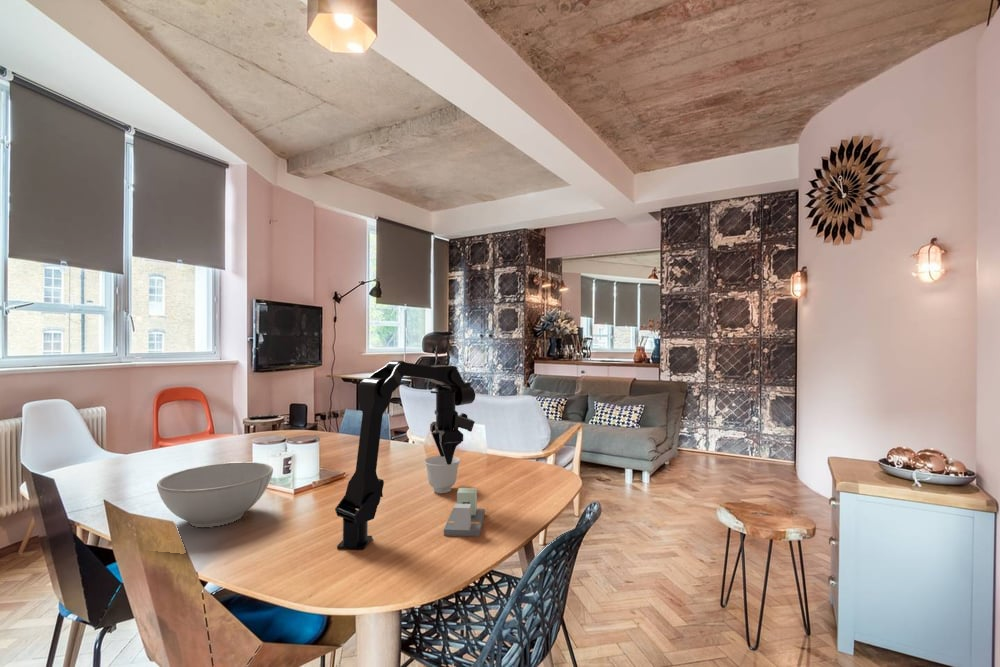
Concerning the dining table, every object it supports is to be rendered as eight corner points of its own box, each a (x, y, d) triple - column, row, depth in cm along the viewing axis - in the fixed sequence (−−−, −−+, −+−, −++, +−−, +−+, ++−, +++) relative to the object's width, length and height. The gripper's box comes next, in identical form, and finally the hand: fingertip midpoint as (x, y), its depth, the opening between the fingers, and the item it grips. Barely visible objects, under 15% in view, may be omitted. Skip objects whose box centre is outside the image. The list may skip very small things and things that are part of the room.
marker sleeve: (475, 515, 121) (475, 493, 121) (456, 514, 121) (457, 492, 121) (476, 509, 125) (476, 488, 125) (459, 509, 125) (459, 487, 125)
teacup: (468, 484, 154) (468, 455, 154) (452, 498, 140) (452, 466, 140) (436, 481, 157) (436, 452, 158) (417, 494, 143) (417, 463, 143)
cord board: (479, 536, 112) (479, 508, 112) (443, 535, 112) (444, 507, 113) (484, 514, 127) (484, 489, 127) (453, 513, 127) (453, 488, 128)
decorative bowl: (292, 512, 127) (293, 470, 127) (187, 549, 104) (189, 497, 104) (239, 496, 141) (240, 457, 141) (136, 525, 117) (137, 479, 118)
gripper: (480, 410, 126) (480, 466, 126) (464, 402, 144) (464, 450, 144) (442, 412, 123) (441, 469, 122) (429, 403, 140) (429, 453, 140)
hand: (445, 460), depth 132 cm, fingers open, 9 cm apart
